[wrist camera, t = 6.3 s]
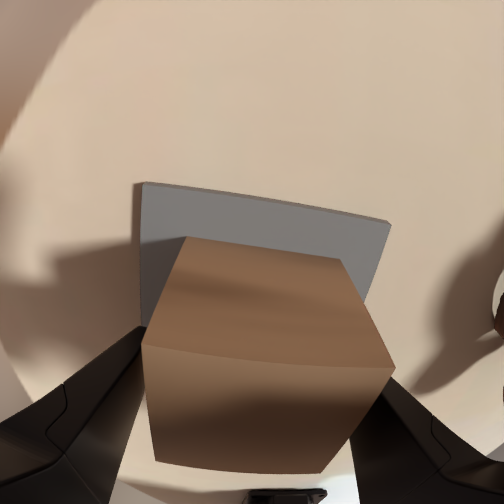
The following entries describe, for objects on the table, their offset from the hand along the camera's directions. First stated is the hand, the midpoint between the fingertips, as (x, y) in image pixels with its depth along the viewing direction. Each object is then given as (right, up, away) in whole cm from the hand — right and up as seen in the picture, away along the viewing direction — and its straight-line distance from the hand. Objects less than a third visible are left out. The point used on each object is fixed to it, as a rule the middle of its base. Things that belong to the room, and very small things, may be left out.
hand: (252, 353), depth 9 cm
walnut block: (0, +1, +2) cm, 2 cm away
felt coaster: (0, +1, +2) cm, 2 cm away
